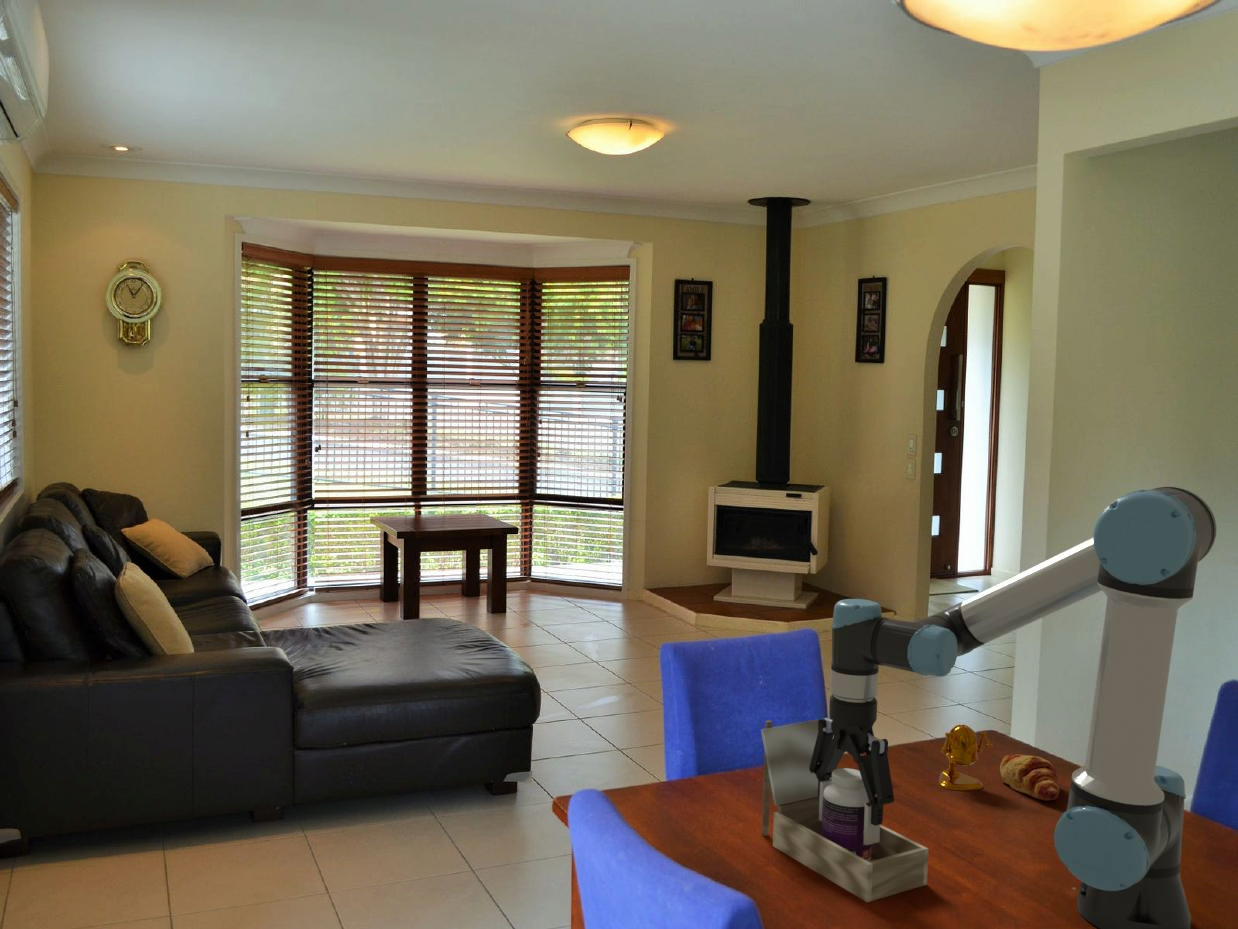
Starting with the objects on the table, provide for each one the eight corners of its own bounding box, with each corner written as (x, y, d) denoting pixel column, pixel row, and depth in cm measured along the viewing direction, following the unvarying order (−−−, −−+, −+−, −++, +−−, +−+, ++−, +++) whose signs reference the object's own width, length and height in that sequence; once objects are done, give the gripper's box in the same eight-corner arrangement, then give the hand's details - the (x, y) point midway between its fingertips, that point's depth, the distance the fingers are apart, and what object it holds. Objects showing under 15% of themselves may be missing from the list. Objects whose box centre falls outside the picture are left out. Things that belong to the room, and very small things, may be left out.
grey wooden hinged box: (926, 884, 169) (932, 759, 167) (867, 902, 162) (872, 772, 161) (811, 822, 192) (815, 712, 191) (754, 835, 186) (758, 722, 184)
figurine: (950, 794, 207) (953, 733, 207) (926, 774, 218) (929, 716, 217) (992, 793, 209) (995, 732, 208) (966, 773, 219) (969, 715, 218)
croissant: (992, 784, 223) (976, 751, 222) (1034, 762, 224) (1018, 728, 223) (1040, 823, 202) (1023, 786, 201) (1087, 798, 203) (1069, 761, 202)
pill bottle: (870, 874, 170) (875, 785, 169) (819, 868, 172) (823, 780, 171) (870, 853, 178) (874, 768, 177) (821, 847, 180) (825, 763, 179)
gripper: (922, 711, 165) (916, 852, 167) (824, 676, 185) (819, 803, 186) (886, 718, 162) (880, 862, 163) (790, 681, 181) (785, 810, 182)
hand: (848, 830), depth 175 cm, fingers open, 10 cm apart
